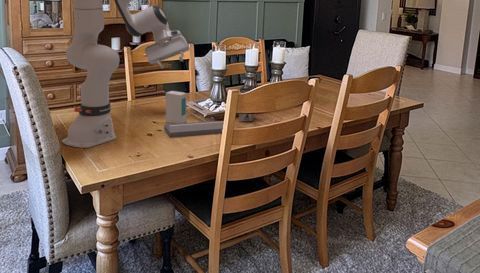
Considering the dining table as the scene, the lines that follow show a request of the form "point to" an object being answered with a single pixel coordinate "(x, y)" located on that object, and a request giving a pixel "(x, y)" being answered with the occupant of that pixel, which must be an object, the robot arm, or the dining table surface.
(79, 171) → the dining table surface
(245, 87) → the coffee box
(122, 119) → the dining table surface
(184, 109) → the carton
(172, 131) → the shelf
